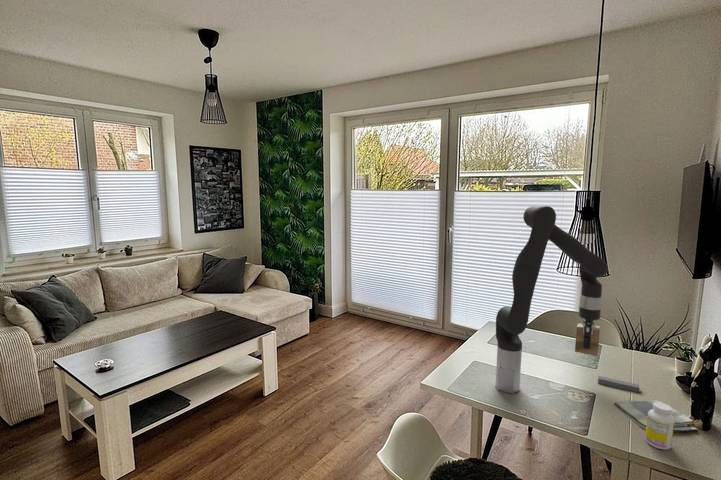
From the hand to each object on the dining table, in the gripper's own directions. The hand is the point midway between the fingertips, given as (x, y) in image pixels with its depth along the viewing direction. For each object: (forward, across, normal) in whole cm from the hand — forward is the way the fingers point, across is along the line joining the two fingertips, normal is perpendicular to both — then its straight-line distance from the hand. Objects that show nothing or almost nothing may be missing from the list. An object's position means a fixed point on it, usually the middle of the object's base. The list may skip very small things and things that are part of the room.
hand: (586, 346), depth 158 cm
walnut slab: (+2, 0, 0) cm, 2 cm away
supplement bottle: (+16, -32, -22) cm, 42 cm away
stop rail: (+16, +5, -12) cm, 21 cm away
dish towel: (+17, -15, -23) cm, 32 cm away
